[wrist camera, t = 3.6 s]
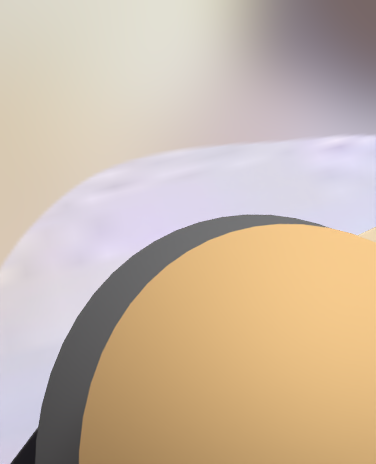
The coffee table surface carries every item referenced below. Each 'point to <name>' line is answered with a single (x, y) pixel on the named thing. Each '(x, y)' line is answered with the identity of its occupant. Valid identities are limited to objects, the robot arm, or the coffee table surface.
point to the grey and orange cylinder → (223, 352)
